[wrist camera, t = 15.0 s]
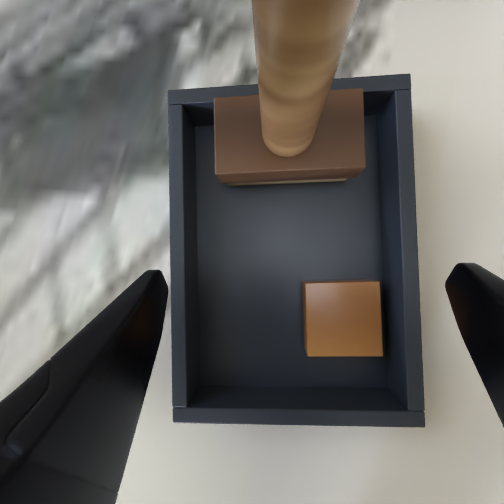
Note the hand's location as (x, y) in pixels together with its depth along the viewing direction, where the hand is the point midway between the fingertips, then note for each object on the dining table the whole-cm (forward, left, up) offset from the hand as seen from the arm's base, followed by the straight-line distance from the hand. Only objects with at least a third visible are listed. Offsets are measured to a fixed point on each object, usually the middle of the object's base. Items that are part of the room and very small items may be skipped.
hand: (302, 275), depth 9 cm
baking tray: (+1, +1, -8) cm, 8 cm away
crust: (0, -4, -8) cm, 9 cm away
